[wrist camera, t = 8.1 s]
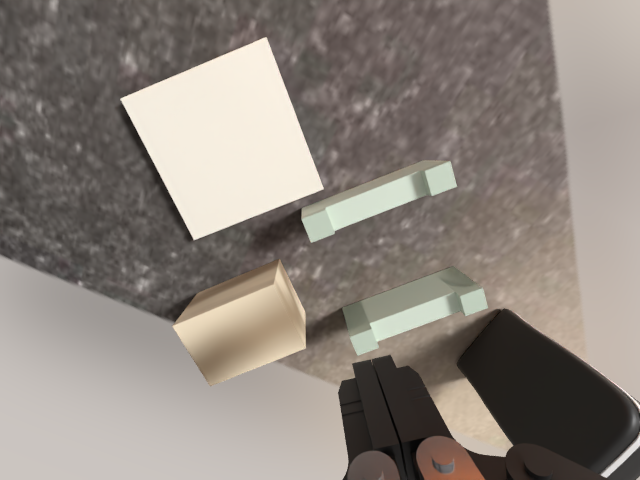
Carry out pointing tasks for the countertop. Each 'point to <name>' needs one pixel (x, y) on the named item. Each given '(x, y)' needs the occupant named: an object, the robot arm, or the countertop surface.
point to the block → (243, 323)
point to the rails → (409, 299)
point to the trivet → (225, 139)
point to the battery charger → (553, 398)
